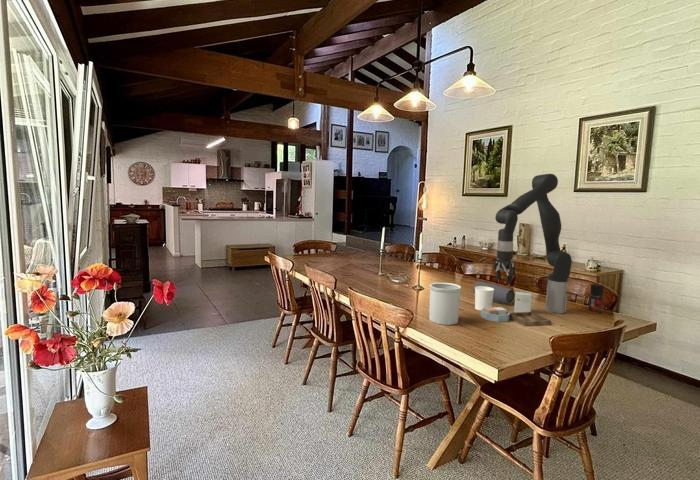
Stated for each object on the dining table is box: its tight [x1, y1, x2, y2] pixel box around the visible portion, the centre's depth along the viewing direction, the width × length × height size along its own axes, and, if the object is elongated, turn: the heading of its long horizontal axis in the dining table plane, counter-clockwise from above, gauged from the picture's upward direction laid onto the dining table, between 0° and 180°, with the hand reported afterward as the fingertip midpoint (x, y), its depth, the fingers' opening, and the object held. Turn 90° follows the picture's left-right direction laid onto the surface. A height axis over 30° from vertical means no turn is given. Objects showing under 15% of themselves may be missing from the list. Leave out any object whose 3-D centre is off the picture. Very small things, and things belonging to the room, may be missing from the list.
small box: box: [513, 291, 533, 312], centre depth 201 cm, size 8×6×10 cm
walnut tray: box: [509, 311, 552, 327], centre depth 186 cm, size 14×14×3 cm
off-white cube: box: [493, 306, 508, 315], centre depth 190 cm, size 4×4×4 cm
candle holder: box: [474, 286, 494, 312], centre depth 204 cm, size 10×10×12 cm
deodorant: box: [587, 283, 605, 314], centre depth 206 cm, size 6×6×15 cm
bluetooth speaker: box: [472, 280, 516, 304], centre depth 222 cm, size 23×9×10 cm, turn 34°
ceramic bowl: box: [480, 306, 511, 323], centre depth 190 cm, size 13×13×4 cm
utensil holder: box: [428, 282, 462, 326], centre depth 183 cm, size 15×15×18 cm
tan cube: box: [485, 306, 498, 315], centre depth 189 cm, size 4×4×4 cm
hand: (503, 281), depth 192 cm, fingers open, 8 cm apart
